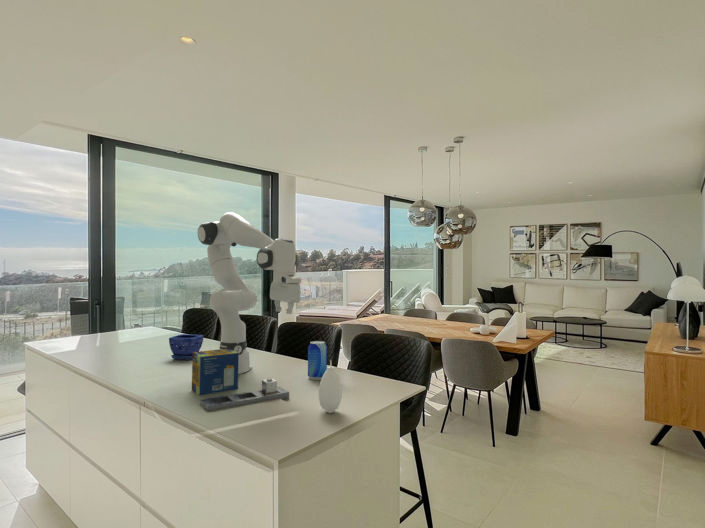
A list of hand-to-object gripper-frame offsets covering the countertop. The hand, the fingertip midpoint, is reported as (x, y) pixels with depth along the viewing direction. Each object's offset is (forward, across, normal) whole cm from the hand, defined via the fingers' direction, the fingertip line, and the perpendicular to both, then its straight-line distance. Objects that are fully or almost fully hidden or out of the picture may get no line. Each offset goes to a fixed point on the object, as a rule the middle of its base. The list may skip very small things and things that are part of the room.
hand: (283, 312), depth 165 cm
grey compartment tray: (+31, +7, -18) cm, 37 cm away
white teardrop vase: (+31, +32, +2) cm, 45 cm away
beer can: (+31, -8, +21) cm, 39 cm away
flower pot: (+31, -81, -17) cm, 89 cm away
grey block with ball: (+30, +7, -9) cm, 32 cm away
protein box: (+31, -13, -23) cm, 41 cm away
